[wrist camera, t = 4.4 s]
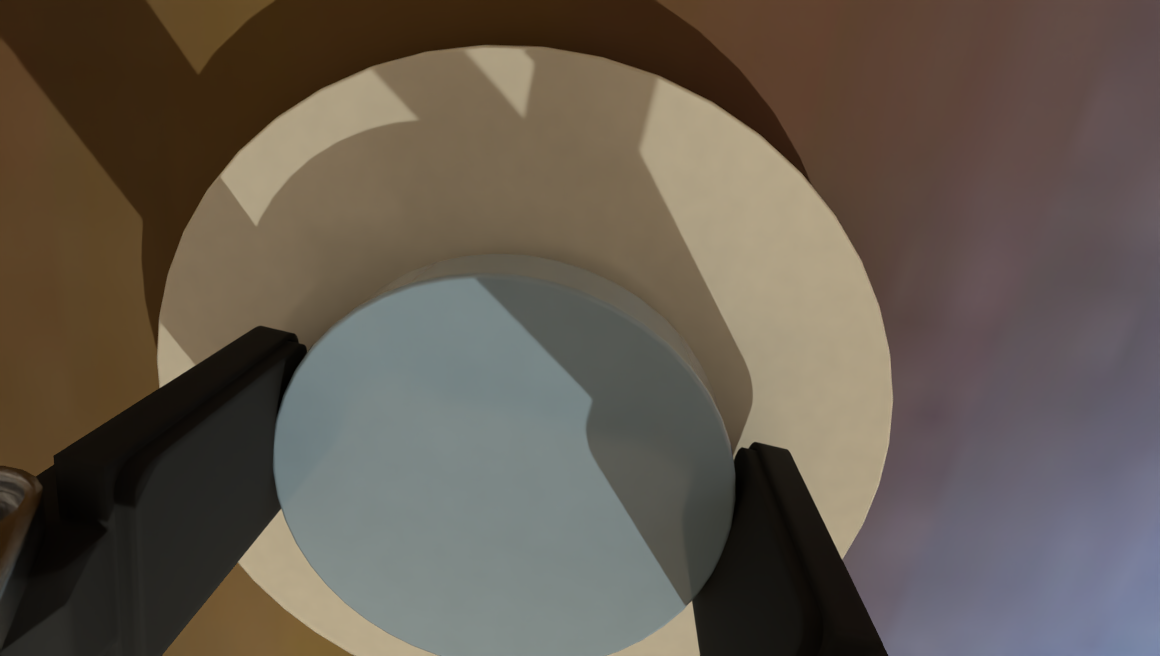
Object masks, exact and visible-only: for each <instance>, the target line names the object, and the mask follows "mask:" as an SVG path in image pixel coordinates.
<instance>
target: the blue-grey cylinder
mask: <svg viewBox="0 0 1160 656" xmlns="http://www.w3.org/2000/svg"><path fill="white" fill-rule="evenodd" d="M273 474H274V480H275V486H276V491H277V497H278V500H279V503H280V506H281V509H282V512H283V515H284V518H285V521H286V523H287V525H288V527H289V530H290V532H291V534H292V536H293V538H294V540H295V542H296V544H297V546H298V547H299V549H300V550H301V552H302V553H303V555H304V556H305V558H306V560H307V561H308V563H309V564H310V566H311V567H312V568H313V569H314V571H315V572H316V573H317V574H318V575H319V577H320V578H321V579H322V580H323V581H324V583H325V584H326V585H327V586H328V587H329V588H330V589H331V590H332V591H333V592H334V593H335V594H336V595H337V596H338V597H339V598H340V599H341V600H342V601H343V602H344V603H345V604H347V605H348V606H349V607H351V608H352V609H353V610H354V611H356V612H357V613H358V614H359V615H361V616H362V617H363V618H365V619H366V620H367V621H369V622H371V623H372V624H374V625H375V626H377V627H378V628H380V629H382V630H383V631H385V632H386V633H388V634H390V635H392V636H394V637H396V638H398V639H400V640H402V641H404V642H406V643H408V644H410V645H412V646H414V647H417V648H420V649H422V650H425V651H427V652H430V653H433V654H435V655H438V656H607V655H610V654H613V653H616V652H619V651H621V650H623V649H625V648H627V647H629V646H631V645H633V644H635V643H638V642H640V641H642V640H643V639H645V638H646V637H648V636H650V635H651V634H653V633H654V632H656V631H658V630H659V629H661V628H662V627H664V626H665V625H666V624H667V623H668V622H670V621H671V620H672V619H673V618H674V617H676V616H677V615H678V614H679V613H681V612H682V611H683V610H684V609H685V607H686V606H687V605H688V604H689V603H690V602H691V601H692V600H693V599H694V598H695V597H696V596H697V595H698V593H699V592H700V591H701V589H702V588H703V586H704V585H705V583H706V582H707V581H708V579H709V578H710V576H711V575H712V573H713V571H714V569H715V567H716V565H717V563H718V561H719V559H720V557H721V554H722V552H723V549H724V547H725V544H726V541H727V539H728V536H729V533H730V530H731V526H732V523H733V516H734V509H735V502H736V471H735V465H734V459H733V453H732V447H731V443H730V440H729V437H728V434H727V430H726V427H725V424H724V421H723V418H722V415H721V412H720V409H719V406H718V403H717V400H716V397H715V394H714V391H713V388H712V385H711V383H710V381H709V379H708V377H707V375H706V373H705V371H704V369H703V367H702V365H701V363H700V362H699V360H698V359H697V357H696V356H695V354H694V353H693V352H692V350H691V349H690V347H689V346H688V344H687V343H686V342H685V340H684V339H683V338H682V337H681V336H680V334H679V333H678V332H677V331H676V330H675V329H674V328H673V327H672V326H671V325H670V324H669V323H668V322H667V321H666V319H665V318H664V317H662V316H661V315H660V314H659V313H658V312H656V311H655V310H654V309H653V308H651V307H650V306H649V305H648V304H647V303H645V302H644V301H643V300H642V299H640V298H639V297H637V296H636V295H634V294H632V293H631V292H629V291H627V290H626V289H624V288H623V287H621V286H619V285H618V284H616V283H615V282H612V281H610V280H608V279H606V278H604V277H601V276H599V275H597V274H595V273H593V272H590V271H588V270H586V269H583V268H579V267H576V266H573V265H570V264H566V263H563V262H560V261H557V260H551V259H546V258H540V257H534V256H529V255H515V254H483V255H471V256H462V257H458V258H453V259H449V260H444V261H440V262H435V263H432V264H430V265H427V266H424V267H421V268H419V269H416V270H413V271H411V272H408V273H406V274H404V275H402V276H400V277H398V278H397V279H395V280H393V281H391V282H389V283H387V284H386V285H384V286H382V287H381V288H379V289H378V290H377V291H375V292H374V293H373V294H371V295H370V296H369V297H367V298H366V299H365V300H363V301H362V302H361V303H359V304H358V305H357V306H356V307H354V308H353V309H352V310H351V311H349V312H348V313H347V314H346V315H344V316H343V317H342V318H341V319H339V320H338V321H337V322H336V323H334V324H333V325H332V326H331V327H330V328H329V329H328V330H327V331H326V332H325V333H324V334H323V335H322V336H321V337H320V338H319V339H318V340H317V341H316V342H315V343H314V344H313V345H312V346H311V348H310V349H309V350H308V352H307V353H306V355H305V356H304V358H303V359H302V360H301V362H300V363H299V365H298V366H297V367H296V369H295V371H294V373H293V375H292V377H291V379H290V381H289V383H288V385H287V387H286V389H285V391H284V394H283V397H282V401H281V404H280V407H279V411H278V414H277V417H276V423H275V433H274V448H273Z"/></svg>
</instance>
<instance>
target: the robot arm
mask: <svg viewBox="0 0 1160 656" xmlns="http://www.w3.org/2000/svg"><path fill="white" fill-rule="evenodd" d="M306 353H307V348H306V346H305V345H304V344H300V343H299V341H298V337H297V335H296V334H295V333H290V332H286V331H282V330H278V329H273V328H269V327H265V326H257V327H255V328H253V329H252V330H250V331H249V332H247V333H246V334H244V335H242V336H241V337H239V338H238V339H236V340H235V341H233V342H231V343H230V344H228V345H227V346H225V347H224V348H222V349H220V350H219V351H217V352H216V353H214V354H213V355H211V356H209V357H208V358H206V359H205V360H203V361H202V362H200V363H198V364H197V365H195V366H194V367H192V368H191V369H189V370H188V371H186V372H184V373H183V374H181V375H180V376H178V377H177V378H175V379H173V380H172V381H170V382H169V383H167V384H166V385H164V386H162V387H161V388H159V389H158V390H156V391H155V392H153V393H151V394H150V395H148V396H147V397H145V398H144V399H142V400H140V401H139V402H137V403H136V404H134V405H133V406H131V407H129V408H128V409H126V410H125V411H123V412H122V413H120V414H119V415H117V416H115V417H114V418H112V419H111V420H109V421H108V422H106V423H104V424H103V425H101V426H100V427H98V428H97V429H95V430H93V431H92V432H90V433H89V434H87V435H86V436H84V437H82V438H81V439H79V440H78V441H76V442H75V443H73V444H71V445H70V446H68V447H67V448H65V449H64V450H62V451H60V452H59V453H57V454H56V455H54V465H53V466H51V467H50V468H48V469H47V470H45V471H44V472H42V473H41V474H39V475H37V476H36V477H35V476H34V475H32V474H30V473H28V472H26V471H24V470H22V469H17V468H12V467H7V466H0V656H162V655H163V653H164V652H165V651H166V650H167V648H168V647H169V646H170V645H171V643H172V642H173V641H174V640H175V639H176V637H177V636H178V635H179V634H180V632H181V631H182V630H183V629H184V628H185V626H186V625H187V624H188V623H189V621H190V620H191V619H192V618H193V616H194V615H195V614H196V613H197V612H198V610H199V609H200V608H201V607H202V605H203V604H204V603H205V602H206V601H207V599H208V598H209V597H210V596H211V594H212V593H213V592H214V591H215V589H216V588H217V587H218V586H219V585H220V583H221V582H222V581H223V580H224V578H225V577H226V576H227V575H228V574H229V572H230V571H231V570H232V569H233V567H234V566H235V565H236V564H237V562H238V561H239V560H240V559H241V558H242V556H243V555H244V554H245V553H246V551H247V550H248V549H249V548H250V547H251V545H252V544H253V543H254V542H255V540H256V539H257V538H258V537H259V535H260V534H261V533H262V532H263V531H264V529H265V528H266V527H267V526H268V524H269V523H270V522H271V521H272V520H273V518H274V517H275V516H276V515H277V513H278V512H279V511H280V510H281V506H280V503H279V500H278V497H277V491H276V486H275V480H274V474H273V448H274V433H275V423H276V417H277V414H278V411H279V407H280V404H281V401H282V397H283V394H284V391H285V389H286V387H287V385H288V383H289V381H290V379H291V377H292V375H293V373H294V371H295V369H296V367H297V366H298V365H299V363H300V362H301V360H302V359H303V358H304V356H305V355H306ZM734 465H735V471H736V502H735V509H734V516H733V523H732V526H731V530H730V533H729V536H728V539H727V541H726V544H725V547H724V549H723V552H722V554H721V557H720V559H719V561H718V563H717V565H716V567H715V569H714V571H713V573H712V575H711V576H710V578H709V579H708V581H707V582H706V583H705V585H704V586H703V588H702V589H701V591H700V592H699V593H698V595H697V596H696V597H695V598H694V599H693V600H692V605H693V611H694V618H695V625H696V632H697V639H698V646H699V652H700V656H888V654H887V652H886V650H885V648H884V646H883V643H882V641H881V639H880V637H879V635H878V633H877V631H876V629H875V627H874V625H873V623H872V621H871V618H870V616H869V614H868V612H867V610H866V608H865V606H864V604H863V602H862V600H861V598H860V596H859V594H858V592H857V590H856V587H855V585H854V583H853V581H852V579H851V577H850V575H849V573H848V571H847V569H846V567H845V565H844V563H843V561H842V558H841V556H840V554H839V552H838V550H837V548H836V546H835V544H834V542H833V540H832V538H831V536H830V534H829V532H828V530H827V527H826V525H825V523H824V521H823V519H822V517H821V515H820V513H819V511H818V509H817V507H816V505H815V503H814V501H813V499H812V496H811V494H810V492H809V490H808V488H807V486H806V484H805V482H804V480H803V478H802V476H801V474H800V472H799V470H798V468H797V465H796V463H795V461H794V459H793V457H792V455H791V453H790V452H789V450H788V449H784V448H780V447H775V446H771V445H767V444H763V443H759V442H753V443H752V444H751V445H750V447H749V448H743V447H741V448H740V449H739V450H738V451H737V454H736V456H735V458H734Z"/></svg>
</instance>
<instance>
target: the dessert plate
mask: <svg viewBox="0 0 1160 656" xmlns="http://www.w3.org/2000/svg"><path fill="white" fill-rule="evenodd" d="M483 254H515V255H529V256H534V257H540V258H546V259H551V260H557V261H560V262H563V263H566V264H570V265H573V266H576V267H579V268H583V269H586V270H588V271H590V272H593V273H595V274H597V275H599V276H601V277H604V278H606V279H608V280H610V281H612V282H615V283H616V284H618V285H619V286H621V287H623V288H624V289H626V290H627V291H629V292H631V293H632V294H634V295H636V296H637V297H639V298H640V299H642V300H643V301H644V302H645V303H647V304H648V305H649V306H650V307H651V308H653V309H654V310H655V311H656V312H658V313H659V314H660V315H661V316H662V317H664V318H665V319H666V321H667V322H668V323H669V324H670V325H671V326H672V327H673V328H674V329H675V330H676V331H677V332H678V333H679V334H680V336H681V337H682V338H683V339H684V340H685V342H686V343H687V344H688V346H689V347H690V349H691V350H692V352H693V353H694V354H695V356H696V357H697V359H698V360H699V362H700V363H701V365H702V367H703V369H704V371H705V373H706V375H707V377H708V379H709V381H710V383H711V385H712V388H713V391H714V394H715V397H716V400H717V403H718V406H719V409H720V412H721V415H722V418H723V421H724V424H725V427H726V430H727V434H728V437H729V440H730V443H731V447H732V453H733V459H734V458H735V456H736V454H737V451H738V450H739V449H740V448H741V447H743V448H749V447H750V445H751V444H752V443H753V442H759V443H763V444H767V445H771V446H775V447H780V448H784V449H788V450H789V452H790V453H791V455H792V457H793V459H794V461H795V463H796V465H797V468H798V470H799V472H800V474H801V476H802V478H803V480H804V482H805V484H806V486H807V488H808V490H809V492H810V494H811V496H812V499H813V501H814V503H815V505H816V507H817V509H818V511H819V513H820V515H821V517H822V519H823V521H824V523H825V525H826V527H827V530H828V532H829V534H830V536H831V538H832V540H833V542H834V544H835V546H836V548H837V550H838V552H839V554H840V556H841V558H842V559H843V558H844V556H845V554H846V552H847V551H848V549H849V547H850V546H851V544H852V542H853V540H854V539H855V537H856V535H857V534H858V532H859V530H860V528H861V527H862V525H863V523H864V521H865V518H866V516H867V513H868V511H869V508H870V506H871V504H872V501H873V499H874V496H875V494H876V491H877V489H878V486H879V483H880V479H881V475H882V471H883V467H884V462H885V458H886V454H887V450H888V446H889V439H890V428H891V416H892V405H893V391H892V375H891V360H890V350H889V346H888V341H887V337H886V333H885V328H884V324H883V319H882V315H881V310H880V306H879V303H878V301H877V298H876V296H875V293H874V291H873V288H872V285H871V283H870V280H869V278H868V275H867V273H866V270H865V268H864V265H863V263H862V260H861V258H860V257H859V255H858V253H857V251H856V250H855V248H854V246H853V244H852V243H851V241H850V239H849V238H848V236H847V234H846V232H845V231H844V229H843V227H842V226H841V224H840V222H839V220H838V219H837V217H836V215H835V214H834V213H833V211H832V210H831V209H830V208H829V206H828V205H827V204H826V203H825V201H824V200H823V199H822V198H821V196H820V195H819V194H818V193H817V191H816V190H815V189H814V188H813V186H812V185H811V184H810V183H809V181H808V180H807V179H806V178H805V176H804V175H803V174H802V173H801V172H800V171H799V170H798V169H797V168H796V167H795V166H794V165H793V164H792V163H790V162H789V161H788V160H787V159H786V158H785V157H784V156H783V155H782V154H781V153H780V152H779V151H778V150H776V149H775V148H774V147H773V146H772V145H771V144H770V143H769V142H768V141H767V140H766V139H765V138H764V137H762V136H761V135H760V134H759V133H757V132H756V131H754V130H753V129H751V128H750V127H749V126H747V125H746V124H744V123H743V122H741V121H740V120H738V119H737V118H736V117H734V116H733V115H731V114H730V113H728V112H727V111H725V110H724V109H722V108H721V107H720V106H718V105H717V104H715V103H714V102H712V101H710V100H708V99H706V98H704V97H702V96H700V95H698V94H696V93H694V92H692V91H690V90H688V89H686V88H684V87H682V86H680V85H678V84H676V83H674V82H672V81H670V80H668V79H666V78H664V77H662V76H659V75H656V74H653V73H650V72H647V71H644V70H641V69H638V68H635V67H632V66H629V65H626V64H623V63H620V62H617V61H614V60H611V59H608V58H605V57H600V56H595V55H589V54H583V53H578V52H572V51H566V50H561V49H555V48H549V47H544V46H511V45H477V46H468V47H460V48H451V49H442V50H434V51H426V52H422V53H418V54H415V55H411V56H407V57H403V58H400V59H396V60H392V61H389V62H385V63H381V64H377V65H374V66H371V67H368V68H366V69H364V70H361V71H359V72H357V73H355V74H352V75H350V76H348V77H346V78H343V79H341V80H339V81H337V82H334V83H332V84H330V85H328V86H325V87H323V88H321V89H319V90H318V91H316V92H315V93H313V94H311V95H310V96H308V97H307V98H305V99H304V100H302V101H301V102H299V103H297V104H296V105H294V106H293V107H291V108H290V109H288V110H287V111H285V112H283V113H282V114H280V115H279V116H277V117H276V118H275V119H274V120H273V121H271V122H270V123H269V124H268V125H267V126H266V127H265V128H264V129H263V130H261V131H260V132H259V133H258V134H257V135H256V136H255V137H254V138H252V139H251V140H250V141H249V142H248V143H247V144H246V145H245V146H244V147H242V148H241V149H240V150H239V151H238V152H237V154H236V155H235V156H234V157H233V158H232V160H231V161H230V162H229V163H228V165H227V166H226V167H225V168H224V170H223V171H222V172H221V173H220V175H219V176H218V177H217V178H216V179H215V181H214V182H213V183H212V184H211V186H210V187H209V188H208V190H207V191H206V193H205V195H204V196H203V198H202V200H201V202H200V203H199V205H198V207H197V209H196V211H195V212H194V214H193V216H192V218H191V219H190V221H189V223H188V225H187V226H186V228H185V230H184V232H183V235H182V237H181V240H180V243H179V245H178V248H177V251H176V253H175V256H174V259H173V261H172V264H171V267H170V269H169V272H168V275H167V280H166V285H165V290H164V295H163V300H162V305H161V310H160V314H159V327H158V347H157V367H158V377H159V388H161V387H162V386H164V385H166V384H167V383H169V382H170V381H172V380H173V379H175V378H177V377H178V376H180V375H181V374H183V373H184V372H186V371H188V370H189V369H191V368H192V367H194V366H195V365H197V364H198V363H200V362H202V361H203V360H205V359H206V358H208V357H209V356H211V355H213V354H214V353H216V352H217V351H219V350H220V349H222V348H224V347H225V346H227V345H228V344H230V343H231V342H233V341H235V340H236V339H238V338H239V337H241V336H242V335H244V334H246V333H247V332H249V331H250V330H252V329H253V328H255V327H257V326H265V327H269V328H273V329H278V330H282V331H286V332H290V333H295V334H296V335H297V337H298V341H299V343H300V344H304V345H305V346H306V348H307V352H308V350H309V349H310V348H311V346H312V345H313V344H314V343H315V342H316V341H317V340H318V339H319V338H320V337H321V336H322V335H323V334H324V333H325V332H326V331H327V330H328V329H329V328H330V327H331V326H332V325H333V324H334V323H336V322H337V321H338V320H339V319H341V318H342V317H343V316H344V315H346V314H347V313H348V312H349V311H351V310H352V309H353V308H354V307H356V306H357V305H358V304H359V303H361V302H362V301H363V300H365V299H366V298H367V297H369V296H370V295H371V294H373V293H374V292H375V291H377V290H378V289H379V288H381V287H382V286H384V285H386V284H387V283H389V282H391V281H393V280H395V279H397V278H398V277H400V276H402V275H404V274H406V273H408V272H411V271H413V270H416V269H419V268H421V267H424V266H427V265H430V264H432V263H435V262H440V261H444V260H449V259H453V258H458V257H462V256H471V255H483ZM238 563H239V564H240V566H241V567H242V568H243V569H244V570H245V571H246V572H247V574H248V575H249V576H250V577H251V578H252V579H253V580H254V582H256V583H257V584H258V585H259V586H260V587H261V588H262V589H263V590H264V591H265V592H266V593H267V594H269V595H270V596H271V597H272V598H273V599H274V600H275V601H276V602H277V603H278V604H279V605H280V606H281V607H283V608H284V609H285V610H286V611H288V612H289V613H290V614H292V615H293V616H294V617H296V618H297V619H298V620H300V621H301V622H302V623H304V624H305V625H306V626H308V627H309V628H310V629H312V630H313V631H314V632H316V633H317V634H319V635H321V636H322V637H324V638H326V639H327V640H329V641H331V642H332V643H334V644H335V645H337V646H339V647H340V648H342V649H344V650H345V651H347V652H349V653H351V654H353V655H355V656H438V655H435V654H433V653H430V652H427V651H425V650H422V649H420V648H417V647H414V646H412V645H410V644H408V643H406V642H404V641H402V640H400V639H398V638H396V637H394V636H392V635H390V634H388V633H386V632H385V631H383V630H382V629H380V628H378V627H377V626H375V625H374V624H372V623H371V622H369V621H367V620H366V619H365V618H363V617H362V616H361V615H359V614H358V613H357V612H356V611H354V610H353V609H352V608H351V607H349V606H348V605H347V604H345V603H344V602H343V601H342V600H341V599H340V598H339V597H338V596H337V595H336V594H335V593H334V592H333V591H332V590H331V589H330V588H329V587H328V586H327V585H326V584H325V583H324V581H323V580H322V579H321V578H320V577H319V575H318V574H317V573H316V572H315V571H314V569H313V568H312V567H311V566H310V564H309V563H308V561H307V560H306V558H305V556H304V555H303V553H302V552H301V550H300V549H299V547H298V546H297V544H296V542H295V540H294V538H293V536H292V534H291V532H290V530H289V527H288V525H287V523H286V521H285V518H284V515H283V512H282V509H281V510H280V511H279V512H278V513H277V515H276V516H275V517H274V518H273V520H272V521H271V522H270V523H269V524H268V526H267V527H266V528H265V529H264V531H263V532H262V533H261V534H260V535H259V537H258V538H257V539H256V540H255V542H254V543H253V544H252V545H251V547H250V548H249V549H248V550H247V551H246V553H245V554H244V555H243V556H242V558H241V559H240V560H239V561H238ZM607 656H700V652H699V646H698V639H697V632H696V625H695V618H694V611H693V605H692V601H691V602H690V603H689V604H688V605H687V606H686V607H685V609H684V610H683V611H682V612H681V613H679V614H678V615H677V616H676V617H674V618H673V619H672V620H671V621H670V622H668V623H667V624H666V625H665V626H664V627H662V628H661V629H659V630H658V631H656V632H654V633H653V634H651V635H650V636H648V637H646V638H645V639H643V640H642V641H640V642H638V643H635V644H633V645H631V646H629V647H627V648H625V649H623V650H621V651H619V652H616V653H613V654H610V655H607Z"/></svg>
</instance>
